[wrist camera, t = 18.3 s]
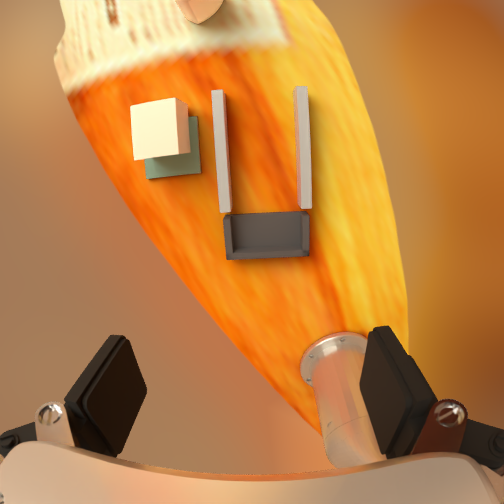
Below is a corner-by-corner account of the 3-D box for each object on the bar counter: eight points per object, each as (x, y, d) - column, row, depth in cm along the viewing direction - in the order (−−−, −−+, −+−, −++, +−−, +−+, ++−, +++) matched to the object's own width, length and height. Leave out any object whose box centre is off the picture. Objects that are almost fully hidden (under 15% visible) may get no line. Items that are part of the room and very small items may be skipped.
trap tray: (305, 248, 37) (309, 256, 35) (228, 252, 38) (226, 259, 35) (305, 211, 35) (309, 215, 33) (225, 214, 36) (223, 219, 33)
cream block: (190, 152, 32) (178, 154, 27) (151, 157, 33) (134, 160, 27) (187, 104, 30) (175, 97, 25) (148, 110, 30) (130, 106, 25)
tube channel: (307, 203, 35) (311, 208, 32) (222, 207, 35) (220, 212, 33) (302, 91, 30) (307, 86, 27) (215, 94, 30) (211, 90, 28)
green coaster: (201, 172, 34) (200, 173, 33) (148, 178, 34) (146, 179, 34) (197, 116, 31) (196, 116, 31) (143, 124, 32) (141, 124, 31)
